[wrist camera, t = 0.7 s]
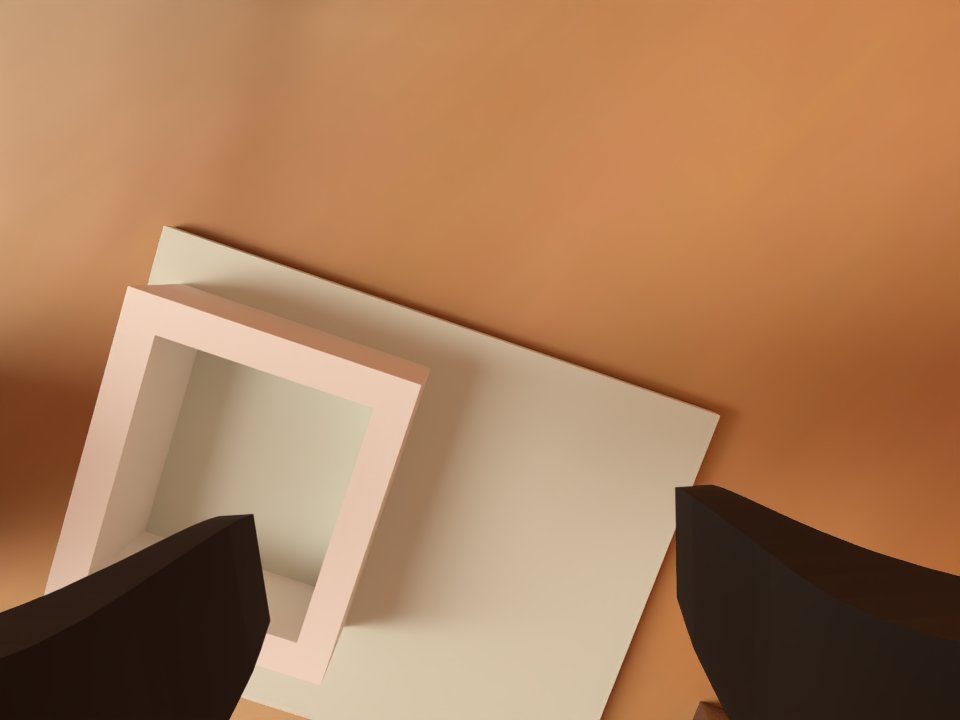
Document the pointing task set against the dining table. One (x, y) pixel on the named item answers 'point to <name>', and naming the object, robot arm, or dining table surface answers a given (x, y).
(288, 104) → the dining table surface
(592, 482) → the well board
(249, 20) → the dining table surface
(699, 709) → the bracket
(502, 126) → the dining table surface
